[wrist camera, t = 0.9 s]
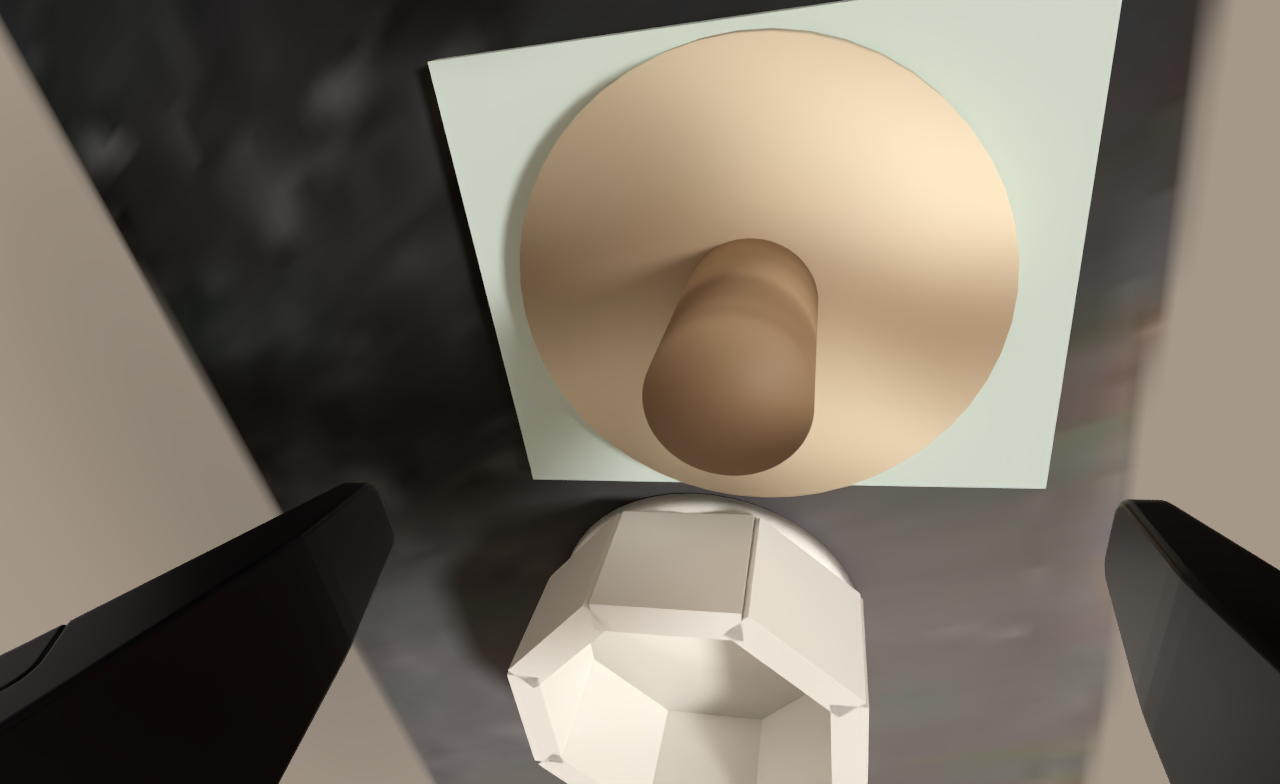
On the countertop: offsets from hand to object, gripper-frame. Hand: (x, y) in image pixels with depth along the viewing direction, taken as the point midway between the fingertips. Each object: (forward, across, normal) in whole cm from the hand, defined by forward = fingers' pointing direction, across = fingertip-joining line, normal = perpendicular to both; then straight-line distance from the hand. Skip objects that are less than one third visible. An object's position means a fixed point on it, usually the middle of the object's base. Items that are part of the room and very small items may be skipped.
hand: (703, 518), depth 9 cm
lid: (+7, 0, 0) cm, 7 cm away
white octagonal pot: (+8, +2, +10) cm, 13 cm away
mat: (+8, 0, 0) cm, 8 cm away
